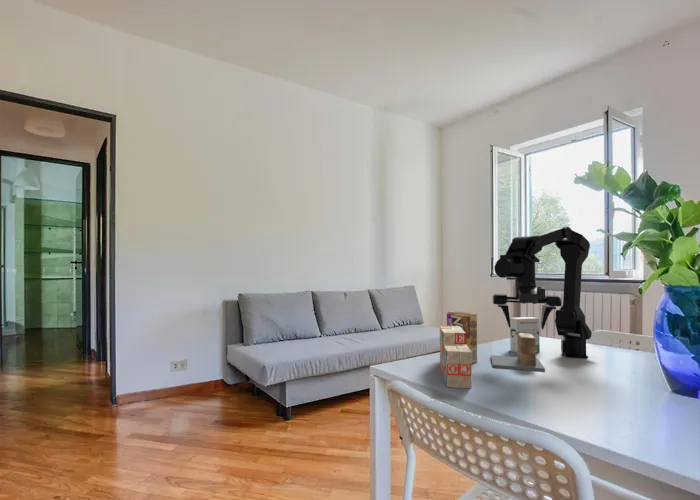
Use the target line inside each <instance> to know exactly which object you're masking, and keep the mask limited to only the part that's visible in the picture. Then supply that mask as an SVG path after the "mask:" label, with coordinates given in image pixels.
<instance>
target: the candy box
mask: <svg viewBox="0 0 700 500" xmlns="http://www.w3.org/2000/svg"><path fill="white" fill-rule="evenodd" d="M477 317H478V314H477V313H473V312H464V311H458V310H457V311H456V310H455V311H454V310H450V311H447V312H446V326H460V327H461V328H462V329H463V331H464V332H465V333H466V345H467V346H468V347H469V349H470V350H471V352H472V364H475V363H477V362H478V318H477Z"/></svg>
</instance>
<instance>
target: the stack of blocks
mask: <svg viewBox="0 0 700 500" xmlns="http://www.w3.org/2000/svg"><path fill="white" fill-rule="evenodd" d="M439 349H440V350H439V351H440V353H439V361H440V362H439V365H440V370H441V373H442V375H443V378H444V382H445V385H446V387H447V388H456V389H457V388H458V389H459V388H460V389H472V364H473V363H472V352H471V350H470V349H469V347H468V346H467V345H466V333H465V332H464V331H463V329H462V328H461V327H460V326H447V325H439Z"/></svg>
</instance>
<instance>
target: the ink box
mask: <svg viewBox="0 0 700 500" xmlns="http://www.w3.org/2000/svg"><path fill="white" fill-rule="evenodd" d="M518 333H525V334H532V335H533V336H534V337H535V339H536V353H539V352H541V351H540V347H541V346H540V344H541V343H540V318H538V317H532V316H523V317H521V316H520V317H510V328H509V337H510V339H509V342H510V347H509V348H510V351H512V352H515V353H517V354H518Z"/></svg>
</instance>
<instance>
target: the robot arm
mask: <svg viewBox="0 0 700 500" xmlns="http://www.w3.org/2000/svg"><path fill="white" fill-rule="evenodd" d="M511 241H512V242H511V243H510V245H509V247H508V249H507V251H506V253H505V254H500V255H499V259H497V261H496V262H495V265H494V266H493V267H494V273H495V275H496V276H497V277H498V278H503V279H505V278H507V279H508V278H509V279H510V278H514V287H515V288H514V289H515V291H514V294H515V295H514V296H508V295H507V294H505V293H494V294H493V295H492V304H493V305H496V306H497V307H498V308H501V310H502V312H503V314H504V317H505V321H506V322H507V323H506V324H507V326H508V329H510V318H511V317H510V312H509V311H510V310H509V305H508V303H516V304H517V303H519V304H520V303H521V304H533V305H537V304H541V318H540V328H541V330H544V329H545V325H546V324H547V321H548V317H549V315H550V313H552V311H553V310H556V311H555V318H554V323H555V327H556V332H557V335H558V336H562V339H561V340H560V351H561V353H562V354H563V355H564V356H565V357H569V358H571V357H572V358H584V359H588V358H589V356H588V355H587V340H590V339H591V338H592V333H593V332H592V330H591V329H590V327H589V326H588V324H587V323H586V315H585V314H584V312H583V310H582V308H581V292H582V274H583V273H582V269H583V263H584V262H585V261H586V260H587V258H588V257H589V254H590V253H589V252H590V248H591V244H590V241H589V240H588V239H587V238H586V237H585V236H584V235H583V234H581V233H579V232H576V231H575V230H573V229H571V227H569V226H566V225H564V226H555V227H552V228H551V229H549V230H545V231H542V232H540V233H539V232H538V233H537V234H534V235H527V236H525V235H524V236H516V237H514V238H512V240H511ZM553 243H554V245H555V246H556V247H557V249H559V253H560V257H561V258H562V260H563V262H564V279H563V295H562V296H563V297H562V298H561V297H560V296H558V295H555V294H554V295H553V294H551V295H550V294H546V288H545V286H536V284H537V283H536V263H540V261H541V260H540V259H539V258H538V257H537V256H536V255H537V254H538V253H539V252H541V251H542V250H543V248H544V247H546V246H548V245H549V246H550V245H551V244H553ZM557 307H560V308H559V309H557Z"/></svg>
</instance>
